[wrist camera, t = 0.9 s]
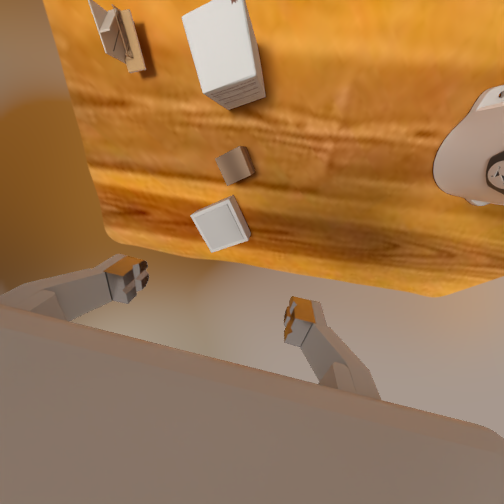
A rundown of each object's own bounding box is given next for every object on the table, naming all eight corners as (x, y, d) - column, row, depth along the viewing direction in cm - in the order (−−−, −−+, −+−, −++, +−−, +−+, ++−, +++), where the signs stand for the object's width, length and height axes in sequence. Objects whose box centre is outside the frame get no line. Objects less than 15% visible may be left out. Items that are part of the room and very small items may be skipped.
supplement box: (215, 59, 32) (178, 12, 21) (257, 42, 30) (242, -20, 19) (227, 111, 35) (201, 94, 24) (266, 99, 33) (257, 74, 22)
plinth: (233, 194, 42) (228, 199, 38) (251, 233, 46) (248, 240, 42) (197, 210, 45) (189, 215, 42) (216, 245, 49) (211, 253, 45)
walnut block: (245, 146, 37) (239, 146, 32) (255, 171, 39) (251, 175, 34) (224, 157, 39) (214, 158, 34) (234, 181, 41) (227, 185, 36)
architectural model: (144, 21, 31) (107, -12, 25) (158, 76, 34) (128, 59, 28) (126, 26, 32) (86, -5, 25) (141, 79, 35) (109, 64, 29)
